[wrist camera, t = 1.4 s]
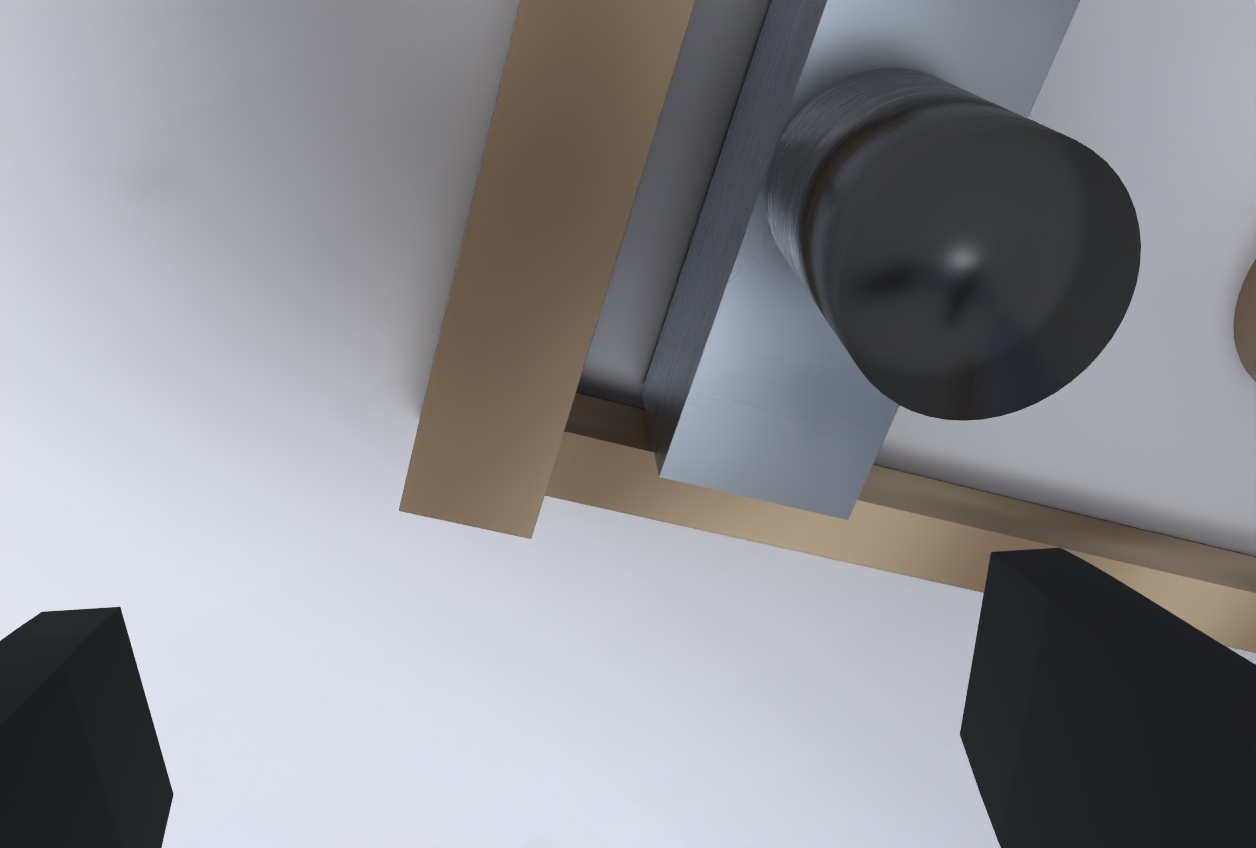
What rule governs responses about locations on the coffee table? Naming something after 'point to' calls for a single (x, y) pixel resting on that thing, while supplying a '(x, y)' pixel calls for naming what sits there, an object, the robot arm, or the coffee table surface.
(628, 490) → the vise frame
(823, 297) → the block
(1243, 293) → the brown wooden cylinder
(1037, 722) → the robot arm
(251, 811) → the coffee table surface
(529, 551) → the coffee table surface
